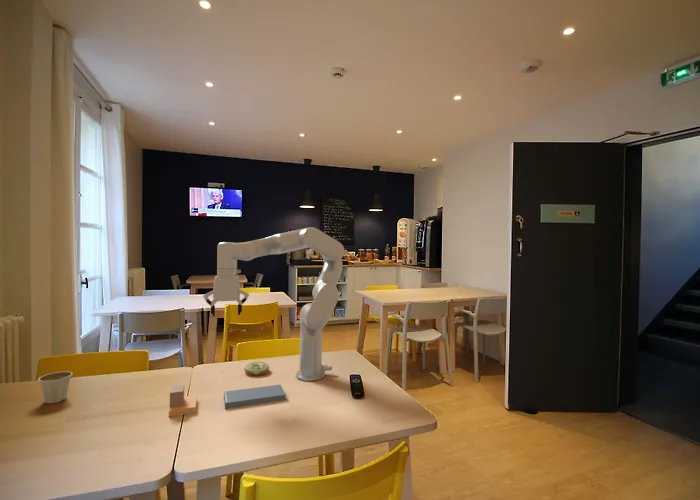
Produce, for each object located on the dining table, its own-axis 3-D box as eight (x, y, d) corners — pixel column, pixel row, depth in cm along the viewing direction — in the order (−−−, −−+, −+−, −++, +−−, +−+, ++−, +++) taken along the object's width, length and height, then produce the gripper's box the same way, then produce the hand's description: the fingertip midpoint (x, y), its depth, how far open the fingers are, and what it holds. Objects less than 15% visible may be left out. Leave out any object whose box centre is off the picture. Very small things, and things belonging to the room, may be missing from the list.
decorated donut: (258, 378, 148) (258, 370, 148) (239, 374, 153) (239, 365, 153) (273, 371, 158) (273, 362, 158) (255, 367, 162) (255, 359, 162)
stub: (196, 400, 126) (196, 381, 126) (195, 412, 117) (195, 392, 117) (171, 403, 123) (172, 383, 123) (168, 416, 114) (169, 395, 114)
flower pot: (32, 402, 122) (32, 377, 122) (64, 392, 131) (64, 369, 131) (45, 408, 118) (45, 383, 118) (77, 398, 126) (77, 374, 126)
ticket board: (280, 389, 137) (280, 384, 137) (285, 399, 128) (285, 394, 128) (223, 397, 129) (223, 391, 129) (224, 408, 120) (225, 402, 120)
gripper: (248, 271, 147) (247, 312, 147) (203, 272, 141) (203, 314, 141) (250, 273, 140) (249, 315, 140) (203, 273, 134) (203, 318, 134)
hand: (226, 315), depth 141 cm, fingers open, 9 cm apart
